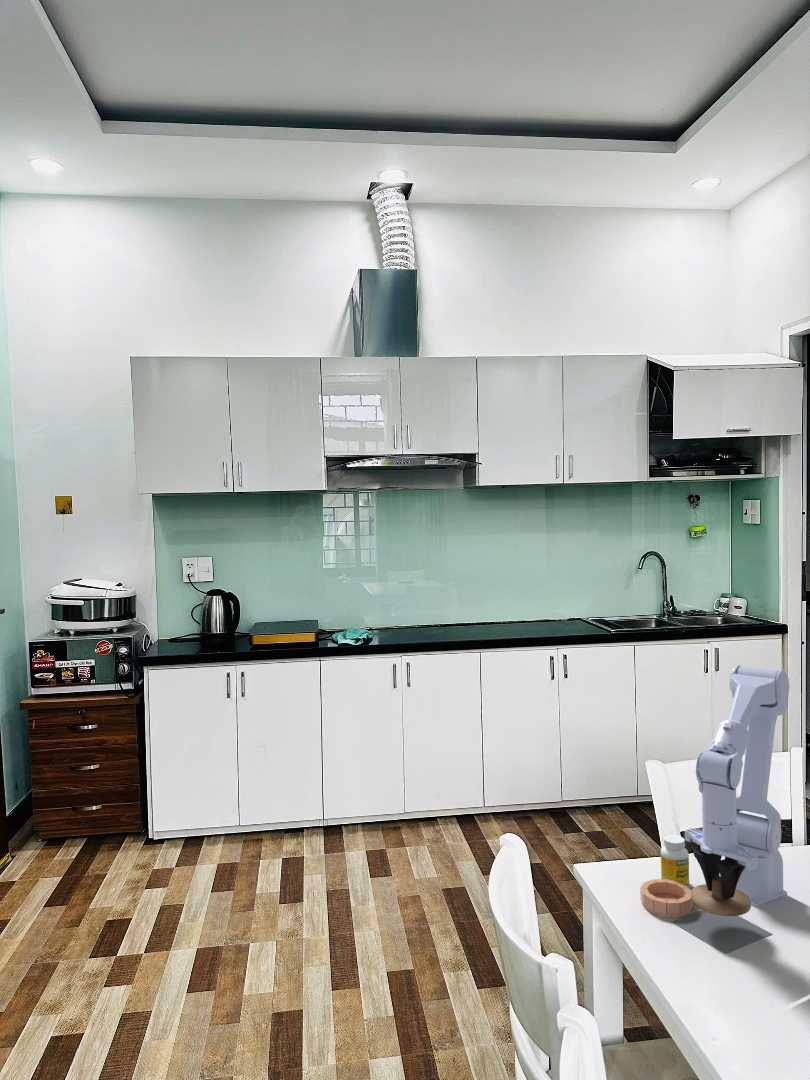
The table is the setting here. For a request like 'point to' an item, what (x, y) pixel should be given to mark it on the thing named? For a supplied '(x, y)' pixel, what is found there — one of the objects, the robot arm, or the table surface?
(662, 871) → the supplement bottle
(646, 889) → the bowl
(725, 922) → the mat
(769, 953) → the table surface
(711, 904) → the lid
